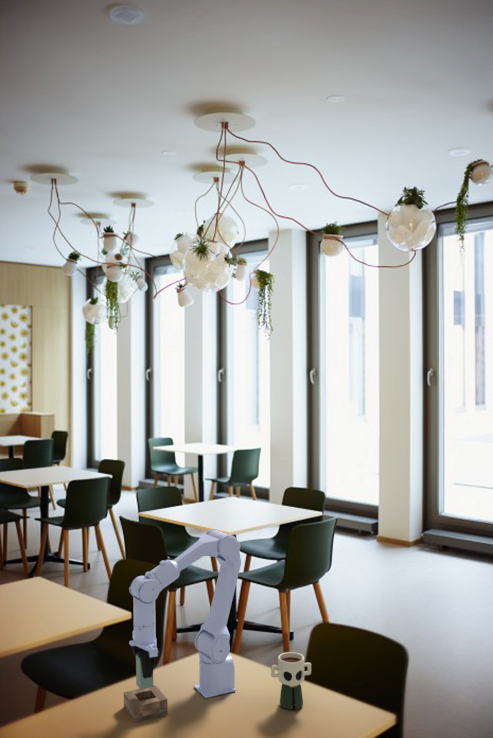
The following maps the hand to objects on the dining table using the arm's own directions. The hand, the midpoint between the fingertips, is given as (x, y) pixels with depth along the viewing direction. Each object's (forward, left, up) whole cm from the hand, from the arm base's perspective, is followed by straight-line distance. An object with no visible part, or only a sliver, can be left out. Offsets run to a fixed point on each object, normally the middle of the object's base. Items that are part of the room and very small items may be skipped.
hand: (145, 674), depth 192 cm
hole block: (0, 0, -10) cm, 10 cm away
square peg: (0, 0, -3) cm, 3 cm away
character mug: (-36, +15, -10) cm, 40 cm away
